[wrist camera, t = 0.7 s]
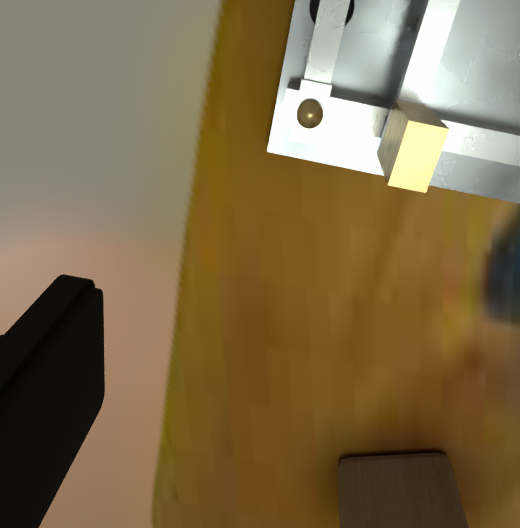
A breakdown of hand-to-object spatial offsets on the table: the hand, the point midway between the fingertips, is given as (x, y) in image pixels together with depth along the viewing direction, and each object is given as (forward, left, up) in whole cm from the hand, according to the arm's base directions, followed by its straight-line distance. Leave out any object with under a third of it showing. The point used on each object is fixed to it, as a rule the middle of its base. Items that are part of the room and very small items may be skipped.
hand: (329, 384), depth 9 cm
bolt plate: (-3, +6, -24) cm, 25 cm away
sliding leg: (-3, +4, -22) cm, 23 cm away
